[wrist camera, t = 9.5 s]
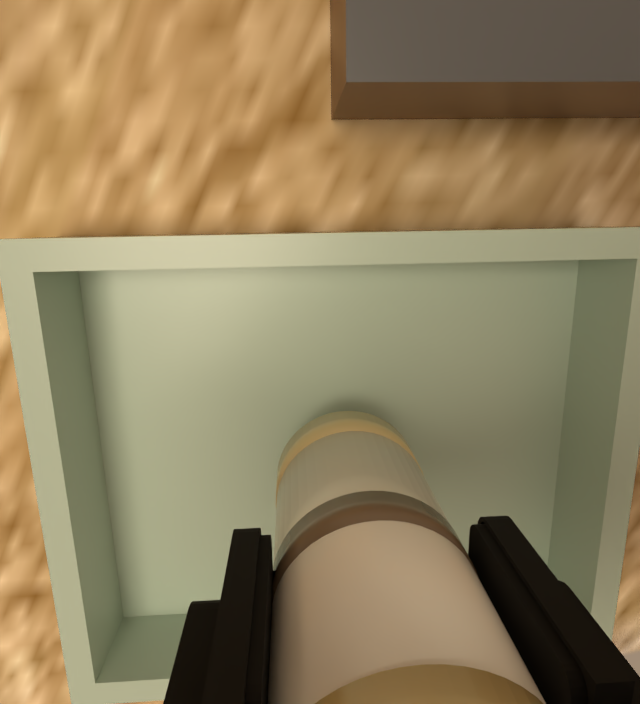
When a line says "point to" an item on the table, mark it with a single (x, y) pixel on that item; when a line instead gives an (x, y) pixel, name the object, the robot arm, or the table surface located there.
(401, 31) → the fuse block
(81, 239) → the parts tray
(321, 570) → the fuse
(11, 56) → the table surface
